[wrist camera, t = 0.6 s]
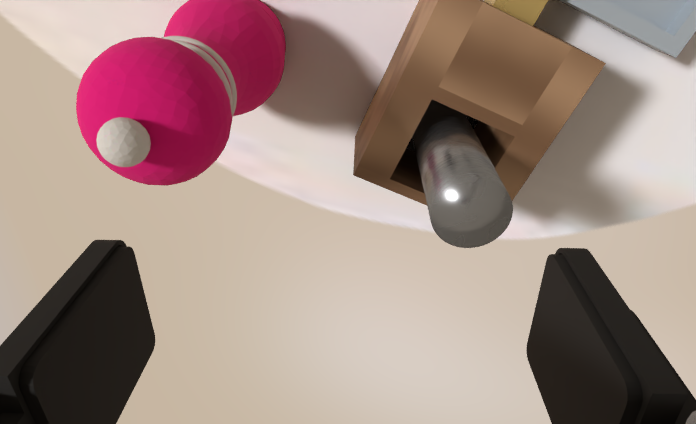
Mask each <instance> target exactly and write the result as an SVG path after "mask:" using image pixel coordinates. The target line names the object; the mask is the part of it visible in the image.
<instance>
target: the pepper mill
mask: <svg viewBox="0 0 696 424" xmlns="http://www.w3.org/2000/svg"><path fill="white" fill-rule="evenodd" d="M285 50H286V42H285V35H284V32H283V28H282V26H281V24H280V22H279V20H278V18H277V17H276V15H275V14H274V13H273V11H272V10H271V9H270V8H269V7H268V6H266V5H265V4H264V3H262V2H261V1H259V0H189V1H188V2H186V3H185V4H184V5H182V6H181V7H180V8H179V9H178V10H177V11H176V12H175V13H174V15H173V16H172V18H171V19H170V21H169V23H168V26H167V28H166V30H165V34H164V37H163V38H156V37H142V38H133V39H129V40H126V41H122V42H120V43H118V44H115V45H113V46H111V47H110V48H108V49H107V50H106V51H104V52H103V53H102V54H100V55H99V56H98V57H97V58H96V59H95V60H94V61H93V62H92V63H91V64H90V66H89V67H88V69H87V70H86V72H85V73H84V74H83V77H82V80H81V83H80V86H79V89H78V92H77V103H76V104H77V106H76V110H77V118H78V124H79V126H80V130H81V133H82V136H83V137H84V139H85V141H86V143H87V144H88V146H89V148H90V149H91V150H92V151H93V153H94V154H95V155H96V156H97V157H98V158H99V160H100V161H102V162H103V163H104V164H105V165H106V166H108V167H109V168H110V169H111V170H113V171H115V172H116V173H118V174H120V175H121V176H123V177H125V178H128V179H130V180H133V181H136V182H139V183H144V184H148V185H172V184H177V183H181V182H185V181H187V180H190V179H192V178H194V177H197V176H198V175H199V174H201V173H202V172H204V171H205V170H206V169H207V168H208V167H210V165H211V164H213V163H214V162H215V161H216V160H217V158H218V157H219V156H220V154H221V153H222V151H223V150H224V148H225V146H226V143H227V141H228V138H229V134H230V128H231V123H232V117H233V116H236V115H241V114H244V113H246V112H249V111H252V110H254V109H256V108H257V107H258V106H260V105H261V104H263V103H264V102H265V101H266V100H267V99H268V98H269V97H270V96H271V95H272V94H273V92H274V91H275V89H276V88H277V86H278V84H279V82H280V80H281V77H282V74H283V70H284V62H285Z"/></svg>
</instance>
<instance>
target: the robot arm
mask: <svg viewBox="0 0 696 424" xmlns="http://www.w3.org/2000/svg"><path fill="white" fill-rule="evenodd" d="M154 346H155V335H154V330H153V326H152V322H151V318H150V314H149V310H148V306H147V302H146V298H145V294H144V290H143V286H142V282H141V278H140V274H139V270H138V266H137V262H136V258H135V254H134V251H133V249H132V248H131V247H127V246H126V244H125V243H124V242H123V241H121V240H95V241H93V242H92V243H91V244H90V245H89V246H88V248H87V249H86V250H85V251H84V252H83V253H82V254H81V255H80V257H79V258H78V259H77V260H76V261H75V262H74V263H73V264H72V266H71V267H70V268H69V269H68V270H67V271H66V272H65V273H64V275H63V276H62V277H61V278H60V279H59V280H58V281H57V283H56V284H55V285H54V286H53V287H52V288H51V289H50V290H49V292H48V293H47V294H46V295H45V296H44V297H43V298H42V300H41V301H40V302H39V303H38V304H37V305H36V306H35V307H34V308H33V310H32V311H31V312H30V313H29V314H28V315H27V316H26V318H25V319H24V320H23V321H22V322H21V323H20V324H19V325H18V326H17V328H16V329H15V330H14V331H13V332H12V333H11V334H10V335H9V337H8V338H7V339H6V340H5V341H4V342H3V343H2V345H1V346H0V424H116V422H117V421H118V419H119V417H120V415H121V413H122V411H123V409H124V407H125V405H126V403H127V401H128V399H129V397H130V395H131V393H132V391H133V389H134V387H135V385H136V383H137V381H138V379H139V378H140V376H141V373H142V372H143V370H144V368H145V366H146V364H147V362H148V360H149V358H150V356H151V354H152V352H153V349H154ZM527 357H528V361H529V364H530V366H531V369H532V372H533V374H534V377H535V380H536V382H537V385H538V388H539V390H540V393H541V396H542V398H543V401H544V404H545V406H546V409H547V412H548V414H549V417H550V420H551V422H552V424H696V400H695V398H694V397H693V395H692V394H691V392H690V391H689V390H688V388H687V387H686V385H685V384H684V382H683V381H682V380H681V378H680V377H679V376H678V374H677V373H676V371H675V370H674V368H673V367H672V366H671V364H670V363H669V361H668V360H667V358H666V357H665V355H664V354H663V353H662V351H661V350H660V348H659V347H658V345H657V344H656V343H655V341H654V340H653V338H652V337H651V335H650V334H649V333H648V331H647V330H646V329H645V327H644V326H643V324H642V323H641V321H640V320H639V318H638V317H637V316H636V315H635V313H634V312H633V311H631V310H630V309H629V308H628V306H627V305H626V303H625V302H624V300H623V299H622V298H621V296H620V295H619V293H618V292H617V290H616V289H615V288H614V286H613V285H612V283H611V282H610V280H609V279H608V277H607V276H606V275H605V273H604V272H603V270H602V269H601V268H600V266H599V264H598V263H597V262H596V260H595V259H594V257H593V256H592V255H591V253H590V252H589V251H588V250H587V249H579V248H578V249H577V248H559V249H558V250H557V252H556V253H555V254H551V255H549V256H548V258H547V261H546V266H545V270H544V274H543V278H542V283H541V287H540V291H539V295H538V300H537V304H536V308H535V313H534V317H533V321H532V325H531V330H530V334H529V338H528V343H527Z"/></svg>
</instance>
